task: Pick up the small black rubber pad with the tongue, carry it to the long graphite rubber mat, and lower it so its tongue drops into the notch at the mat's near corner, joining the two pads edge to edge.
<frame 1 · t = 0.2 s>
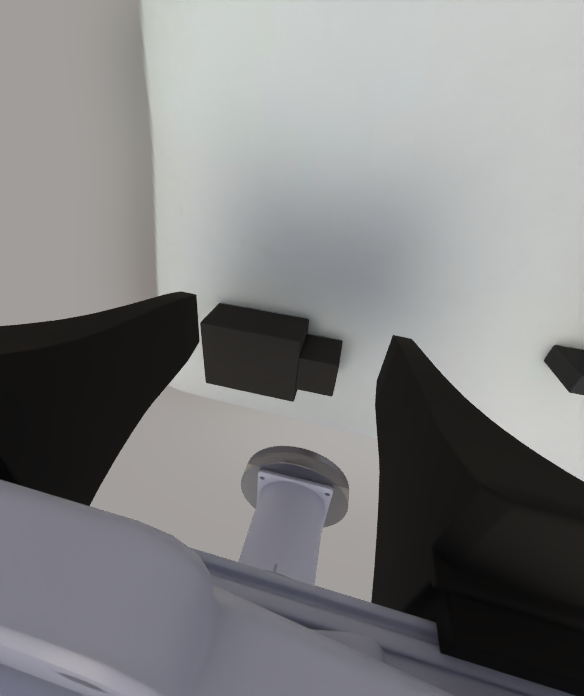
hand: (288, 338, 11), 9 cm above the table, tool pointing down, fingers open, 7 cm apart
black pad: (262, 340, 23), on the table
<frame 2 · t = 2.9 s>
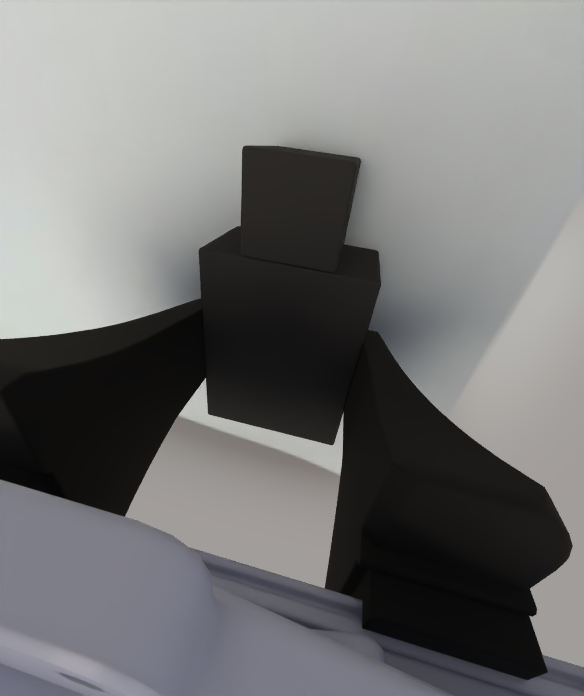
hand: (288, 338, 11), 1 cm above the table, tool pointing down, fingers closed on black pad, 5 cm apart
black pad: (294, 320, 12), on the table, touching gripper
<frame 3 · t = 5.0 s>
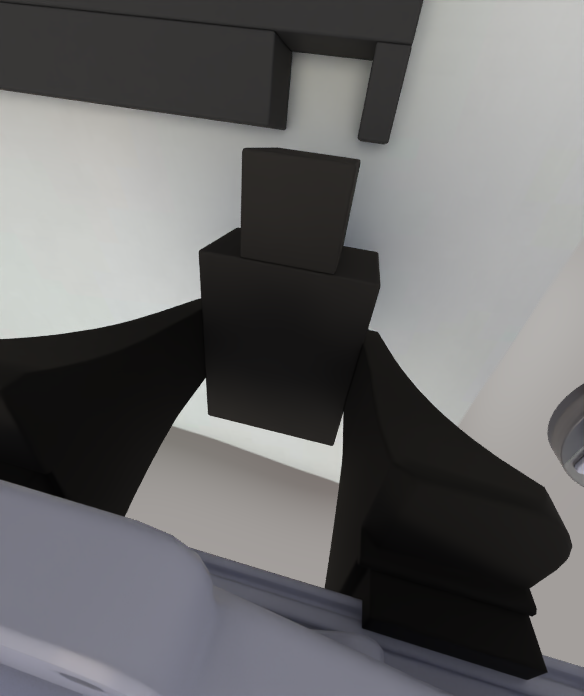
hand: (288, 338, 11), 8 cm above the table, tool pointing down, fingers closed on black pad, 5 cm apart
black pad: (294, 321, 12), point 7 cm above the table, touching gripper
when the fingers open (1 cm above the table, at t = 7.4 s): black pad stays where it is, on the table.
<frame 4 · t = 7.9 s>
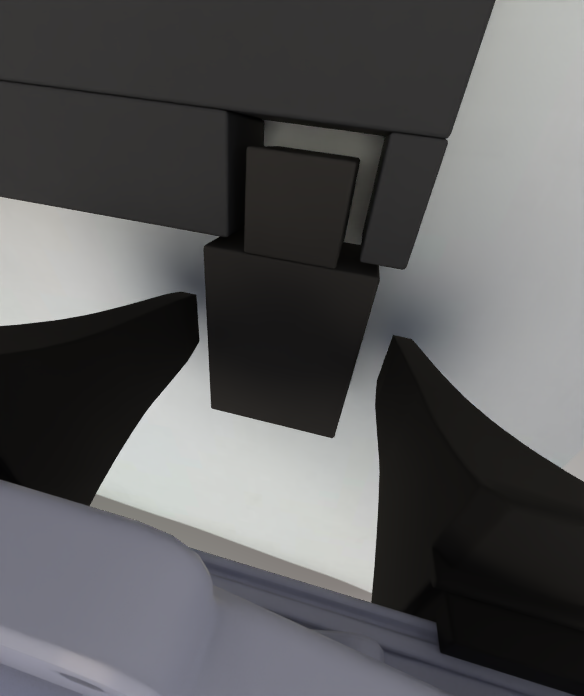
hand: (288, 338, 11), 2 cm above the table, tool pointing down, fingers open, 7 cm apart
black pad: (295, 316, 13), on the table
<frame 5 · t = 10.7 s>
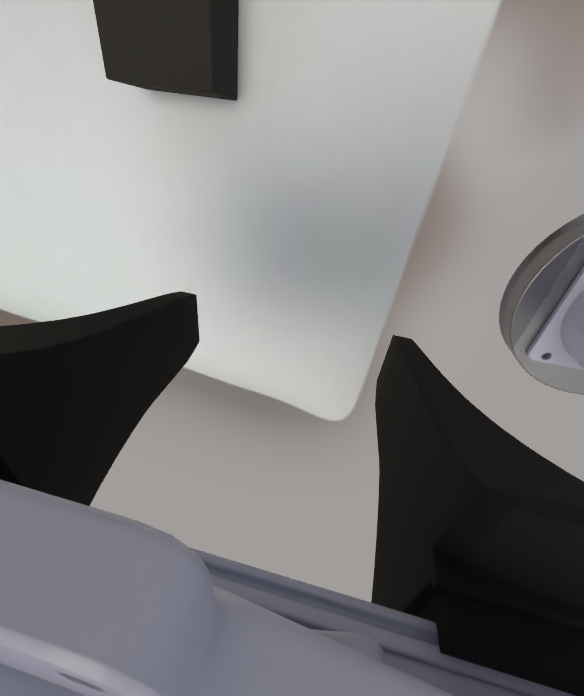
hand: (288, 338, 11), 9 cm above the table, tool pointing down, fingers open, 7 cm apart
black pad: (186, 3, 14), on the table
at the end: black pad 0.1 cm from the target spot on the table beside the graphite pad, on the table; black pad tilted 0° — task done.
